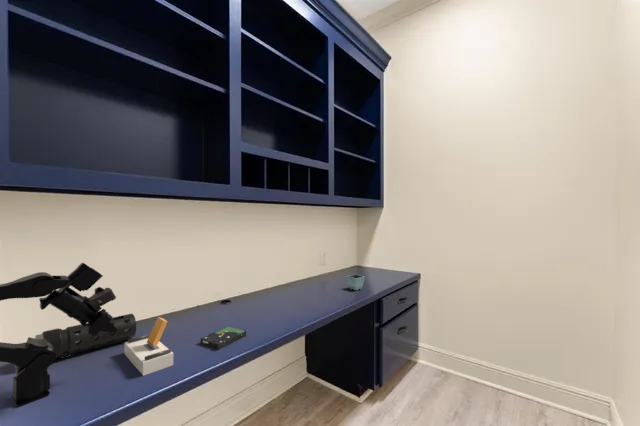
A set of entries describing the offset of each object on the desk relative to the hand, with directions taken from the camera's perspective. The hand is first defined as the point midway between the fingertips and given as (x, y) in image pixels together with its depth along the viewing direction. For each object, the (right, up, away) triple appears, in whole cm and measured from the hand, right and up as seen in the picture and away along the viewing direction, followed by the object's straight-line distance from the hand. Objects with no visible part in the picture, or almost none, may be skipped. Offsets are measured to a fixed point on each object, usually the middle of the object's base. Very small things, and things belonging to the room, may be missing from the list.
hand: (116, 330), depth 95 cm
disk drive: (+27, -14, +24) cm, 38 cm away
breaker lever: (+7, -8, +8) cm, 13 cm away
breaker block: (+6, -13, +7) cm, 16 cm away
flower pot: (+89, -14, +105) cm, 139 cm away
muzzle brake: (-19, -12, +13) cm, 26 cm away
